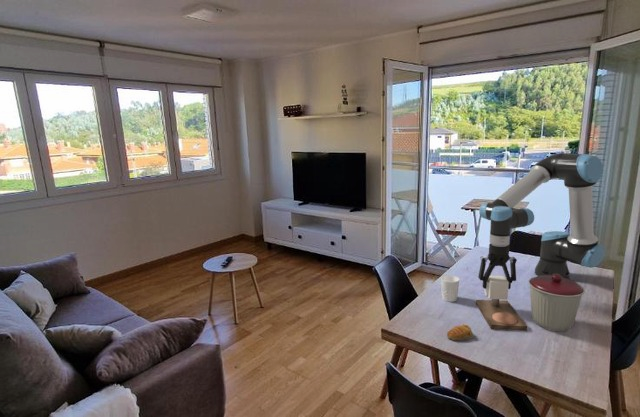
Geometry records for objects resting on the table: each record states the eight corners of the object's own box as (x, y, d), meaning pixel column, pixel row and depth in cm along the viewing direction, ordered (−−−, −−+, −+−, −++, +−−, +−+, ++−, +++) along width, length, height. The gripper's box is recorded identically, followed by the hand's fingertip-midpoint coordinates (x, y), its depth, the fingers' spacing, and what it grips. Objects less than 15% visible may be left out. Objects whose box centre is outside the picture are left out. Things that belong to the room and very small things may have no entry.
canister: (582, 342, 129) (589, 287, 124) (525, 330, 138) (529, 279, 133) (576, 318, 144) (582, 269, 140) (525, 309, 153) (529, 262, 149)
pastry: (455, 344, 131) (455, 335, 130) (442, 335, 137) (442, 326, 136) (474, 338, 134) (475, 328, 133) (461, 329, 140) (462, 320, 140)
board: (507, 304, 157) (508, 283, 155) (526, 330, 137) (529, 306, 135) (475, 303, 159) (477, 283, 157) (491, 329, 139) (492, 305, 137)
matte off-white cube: (484, 291, 157) (485, 275, 155) (501, 292, 156) (502, 275, 154) (489, 299, 150) (490, 281, 148) (507, 299, 149) (508, 282, 147)
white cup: (459, 296, 167) (460, 276, 165) (457, 303, 160) (458, 283, 158) (441, 293, 170) (442, 274, 168) (439, 301, 163) (440, 280, 161)
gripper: (476, 246, 146) (473, 298, 151) (529, 247, 143) (524, 300, 148) (471, 241, 153) (469, 290, 158) (521, 241, 150) (517, 292, 155)
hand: (495, 295), depth 153 cm, fingers closed on matte off-white cube, 7 cm apart
